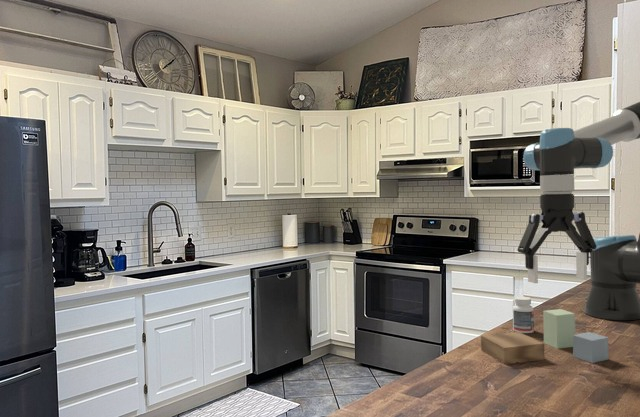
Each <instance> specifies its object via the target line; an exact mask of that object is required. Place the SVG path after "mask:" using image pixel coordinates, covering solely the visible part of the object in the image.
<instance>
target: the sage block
mask: <svg viewBox="0 0 640 417" xmlns="http://www.w3.org/2000/svg"><path fill="white" fill-rule="evenodd" d="M542 313H543V318H542V319H543V343H544V344H546V345H548V346H551V347H553V348H555V349H567V348H573V335H576V314H575V313H574V312H571V311H568V310H565V309H562V308H558V309H547V310H543V311H542Z"/></svg>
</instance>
